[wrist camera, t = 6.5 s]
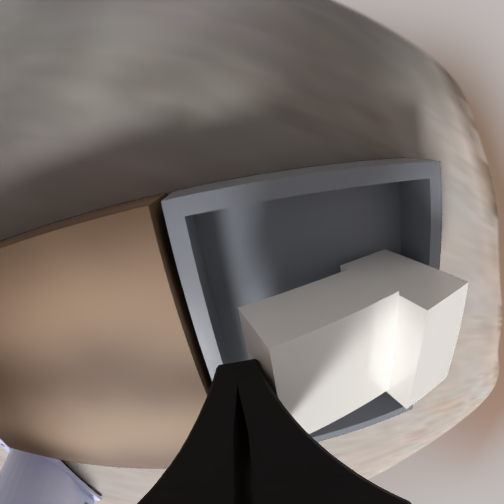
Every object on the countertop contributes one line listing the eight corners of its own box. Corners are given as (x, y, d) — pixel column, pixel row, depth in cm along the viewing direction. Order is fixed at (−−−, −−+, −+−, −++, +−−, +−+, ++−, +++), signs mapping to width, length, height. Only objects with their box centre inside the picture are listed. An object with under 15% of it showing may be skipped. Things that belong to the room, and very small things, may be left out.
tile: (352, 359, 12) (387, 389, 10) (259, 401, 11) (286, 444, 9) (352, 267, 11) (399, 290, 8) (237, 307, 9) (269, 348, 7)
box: (393, 381, 15) (411, 408, 13) (237, 422, 15) (241, 457, 13) (402, 157, 11) (440, 161, 9) (174, 191, 11) (160, 201, 8)
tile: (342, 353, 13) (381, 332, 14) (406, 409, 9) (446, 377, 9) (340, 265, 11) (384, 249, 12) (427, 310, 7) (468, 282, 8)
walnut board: (232, 422, 15) (236, 463, 12) (21, 421, 14) (8, 447, 11) (166, 192, 11) (148, 205, 8) (-62, 266, 10) (-89, 284, 7)
